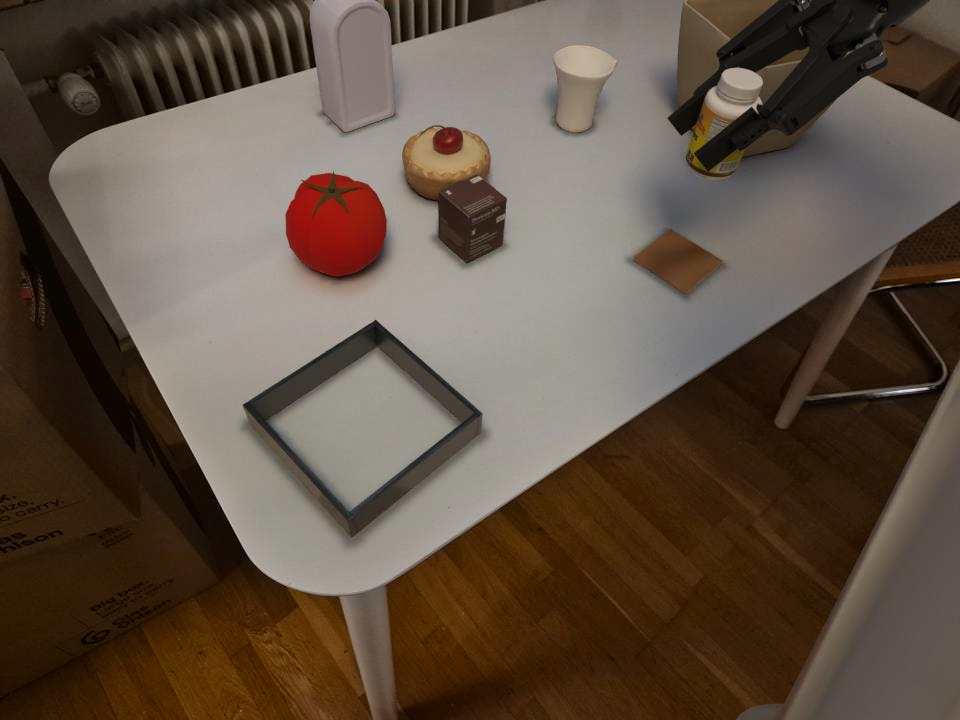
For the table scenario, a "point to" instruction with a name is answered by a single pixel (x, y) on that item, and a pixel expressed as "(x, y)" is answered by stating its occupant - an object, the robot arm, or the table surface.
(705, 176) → the supplement bottle
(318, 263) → the tomato
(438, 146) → the pastry
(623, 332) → the table surface
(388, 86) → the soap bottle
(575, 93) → the cup
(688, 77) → the flower pot
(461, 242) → the box
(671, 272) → the coaster
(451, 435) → the dark grey square frame
